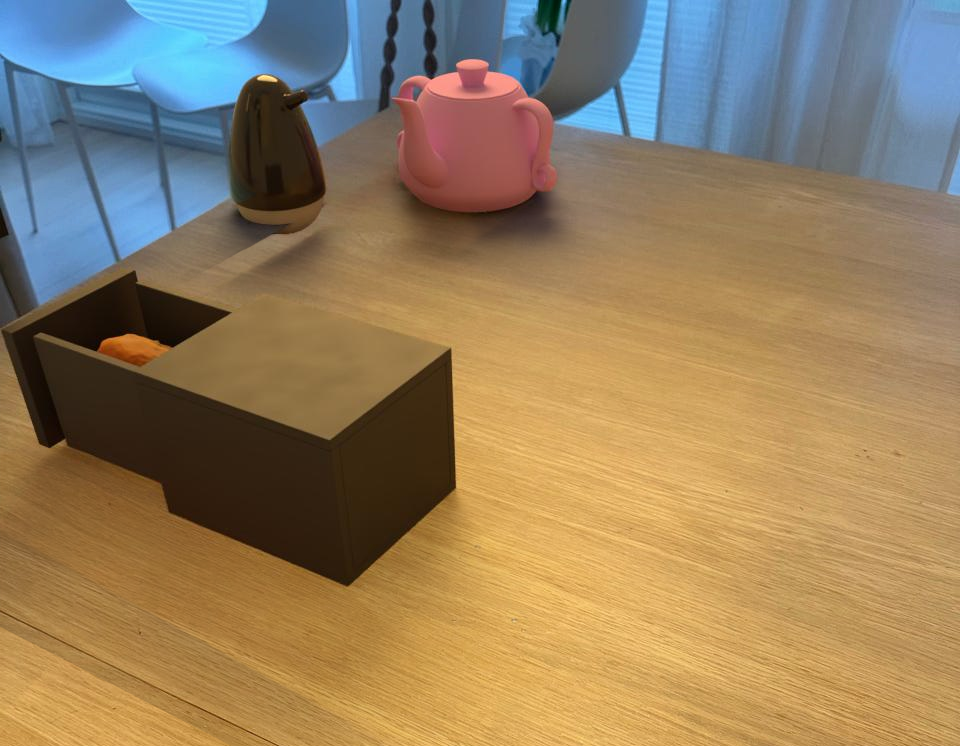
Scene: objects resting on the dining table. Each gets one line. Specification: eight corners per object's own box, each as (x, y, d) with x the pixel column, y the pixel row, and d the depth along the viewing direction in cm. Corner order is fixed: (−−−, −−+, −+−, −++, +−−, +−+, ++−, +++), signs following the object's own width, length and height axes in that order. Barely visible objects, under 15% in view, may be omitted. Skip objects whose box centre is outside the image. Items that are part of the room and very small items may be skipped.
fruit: (48, 414, 81) (81, 310, 80) (118, 432, 88) (149, 337, 87) (131, 450, 78) (166, 343, 77) (196, 465, 86) (229, 368, 85)
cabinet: (168, 512, 80) (132, 371, 73) (285, 427, 89) (265, 292, 81) (347, 587, 74) (329, 440, 66) (456, 488, 82) (451, 347, 74)
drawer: (1, 429, 88) (-40, 315, 81) (114, 363, 95) (85, 254, 89) (184, 504, 80) (155, 384, 73) (292, 426, 87) (274, 311, 81)
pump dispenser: (292, 252, 114) (271, 96, 104) (217, 232, 118) (190, 80, 108) (350, 219, 120) (336, 69, 110) (277, 201, 125) (257, 55, 114)
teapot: (327, 210, 122) (312, 76, 113) (443, 153, 135) (438, 29, 126) (486, 255, 113) (485, 114, 103) (595, 190, 126) (602, 58, 116)
